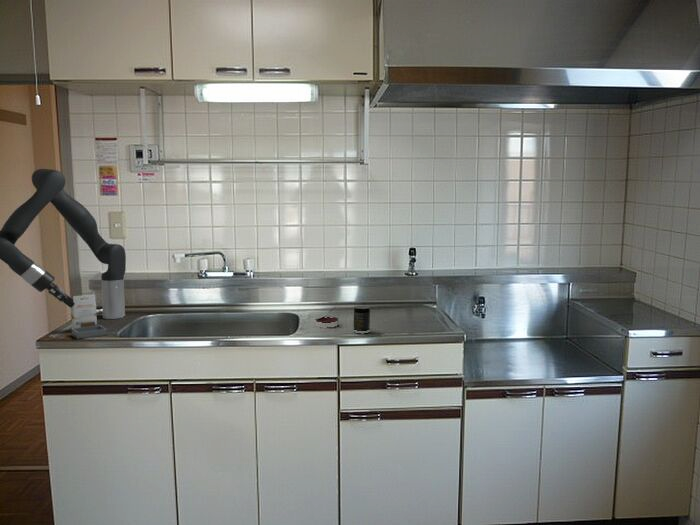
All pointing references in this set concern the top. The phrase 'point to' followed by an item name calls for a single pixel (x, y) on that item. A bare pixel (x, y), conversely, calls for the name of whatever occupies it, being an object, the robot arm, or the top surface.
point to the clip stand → (87, 324)
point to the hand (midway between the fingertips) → (72, 304)
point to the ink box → (83, 310)
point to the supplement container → (361, 318)
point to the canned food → (326, 320)
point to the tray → (89, 331)
